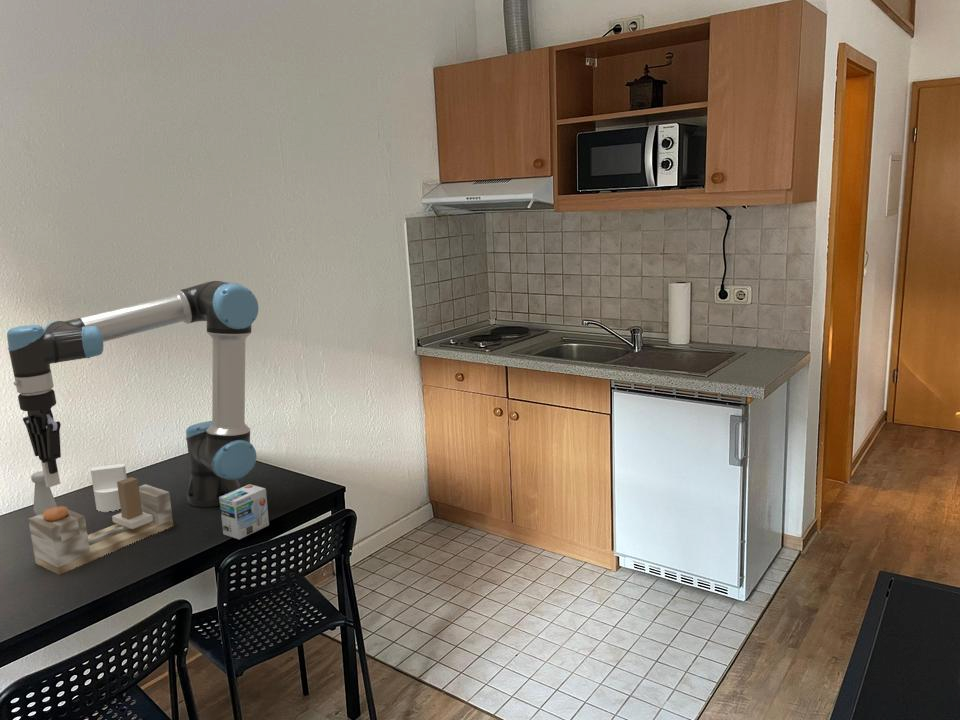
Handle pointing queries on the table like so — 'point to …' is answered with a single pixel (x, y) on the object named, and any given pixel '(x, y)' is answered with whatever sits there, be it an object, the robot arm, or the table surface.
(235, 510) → the light bulb box
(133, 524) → the carriage
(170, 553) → the table surface
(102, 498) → the cylinder with rectangular tab
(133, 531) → the rail base
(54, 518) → the button
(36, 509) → the salt shaker
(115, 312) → the robot arm
